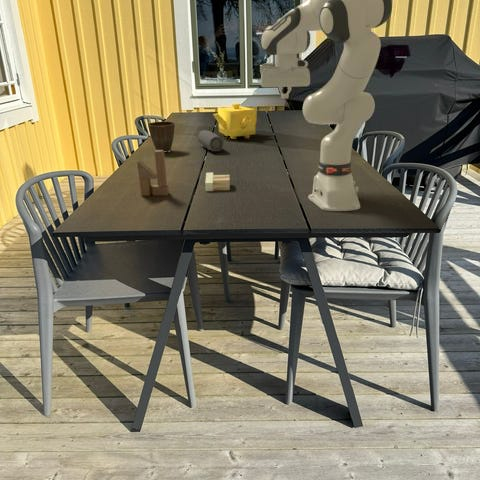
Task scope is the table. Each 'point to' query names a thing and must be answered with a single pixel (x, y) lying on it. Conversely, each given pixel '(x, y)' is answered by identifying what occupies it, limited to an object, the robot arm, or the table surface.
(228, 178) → the oak block
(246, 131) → the cube teapot
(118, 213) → the table surface
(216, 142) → the bluetooth speaker
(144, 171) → the wooden block
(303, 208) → the table surface
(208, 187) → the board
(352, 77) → the robot arm
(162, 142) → the plant pot
